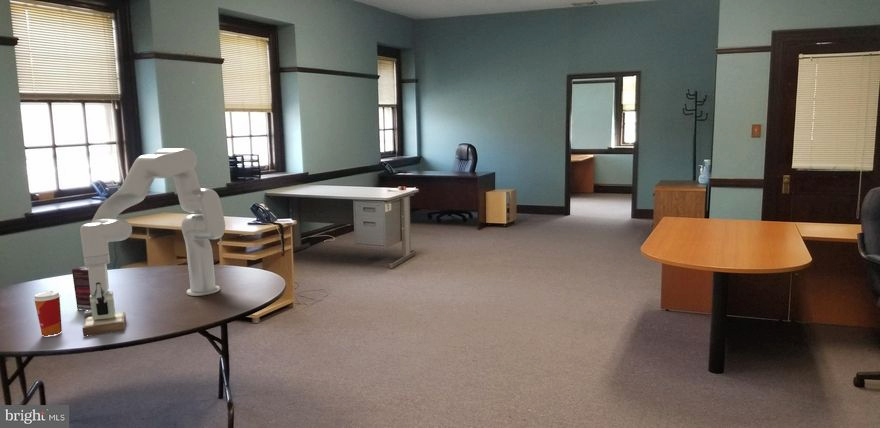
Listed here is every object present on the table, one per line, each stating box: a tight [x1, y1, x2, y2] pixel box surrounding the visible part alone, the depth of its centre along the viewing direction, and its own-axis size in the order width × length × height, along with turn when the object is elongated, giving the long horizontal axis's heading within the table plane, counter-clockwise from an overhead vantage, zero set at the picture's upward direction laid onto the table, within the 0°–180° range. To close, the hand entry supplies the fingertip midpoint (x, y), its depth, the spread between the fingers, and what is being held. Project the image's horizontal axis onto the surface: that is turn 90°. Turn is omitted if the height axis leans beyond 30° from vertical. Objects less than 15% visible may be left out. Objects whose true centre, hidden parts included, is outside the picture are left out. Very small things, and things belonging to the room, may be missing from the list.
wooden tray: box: [81, 311, 127, 337], centre depth 215 cm, size 12×12×3 cm
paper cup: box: [32, 290, 63, 336], centre depth 209 cm, size 8×8×14 cm
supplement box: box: [71, 265, 91, 311], centre depth 236 cm, size 9×5×16 cm, turn 71°
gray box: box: [83, 310, 92, 321], centre depth 223 cm, size 4×7×4 cm, turn 123°
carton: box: [90, 290, 116, 320], centre depth 214 cm, size 5×7×8 cm
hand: (103, 311), depth 214 cm, fingers closed on carton, 4 cm apart
